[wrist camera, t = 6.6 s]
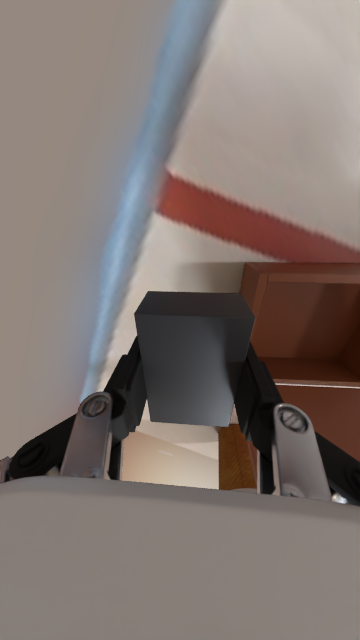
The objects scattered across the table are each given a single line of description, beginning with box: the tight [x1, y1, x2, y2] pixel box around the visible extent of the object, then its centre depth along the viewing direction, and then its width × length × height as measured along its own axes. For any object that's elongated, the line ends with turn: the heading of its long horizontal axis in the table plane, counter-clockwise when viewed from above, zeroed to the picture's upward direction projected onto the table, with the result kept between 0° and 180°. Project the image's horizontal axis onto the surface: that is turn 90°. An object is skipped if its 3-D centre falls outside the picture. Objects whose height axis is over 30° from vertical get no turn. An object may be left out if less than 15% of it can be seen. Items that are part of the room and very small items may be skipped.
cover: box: [247, 385, 360, 487], centre depth 16 cm, size 14×16×1 cm
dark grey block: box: [134, 291, 256, 427], centre depth 10 cm, size 8×5×3 cm, turn 0°
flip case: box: [240, 262, 360, 387], centre depth 20 cm, size 14×16×5 cm
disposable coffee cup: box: [218, 424, 257, 493], centre depth 31 cm, size 10×10×12 cm
